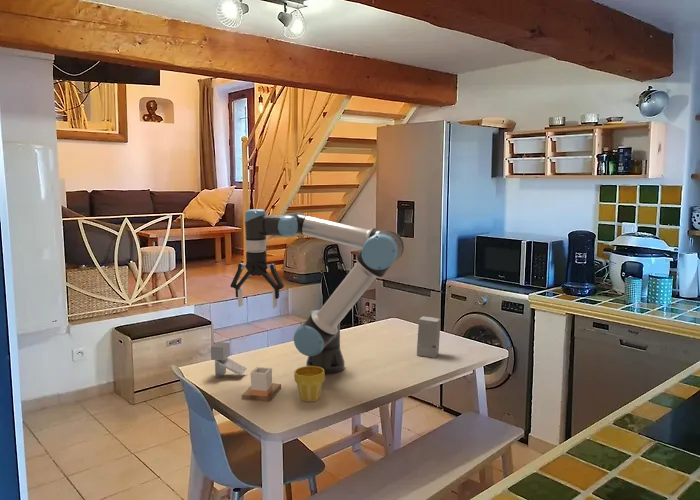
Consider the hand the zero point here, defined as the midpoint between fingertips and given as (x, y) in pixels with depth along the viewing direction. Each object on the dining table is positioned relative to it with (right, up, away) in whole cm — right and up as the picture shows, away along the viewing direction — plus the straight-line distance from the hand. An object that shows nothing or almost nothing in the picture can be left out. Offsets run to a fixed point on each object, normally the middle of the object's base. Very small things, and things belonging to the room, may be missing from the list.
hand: (257, 306), depth 211 cm
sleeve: (+4, -28, -19) cm, 34 cm away
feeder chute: (-10, -27, +1) cm, 29 cm away
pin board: (+4, -29, -15) cm, 33 cm away
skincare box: (+68, -23, +26) cm, 77 cm away
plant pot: (+21, -30, -19) cm, 41 cm away
